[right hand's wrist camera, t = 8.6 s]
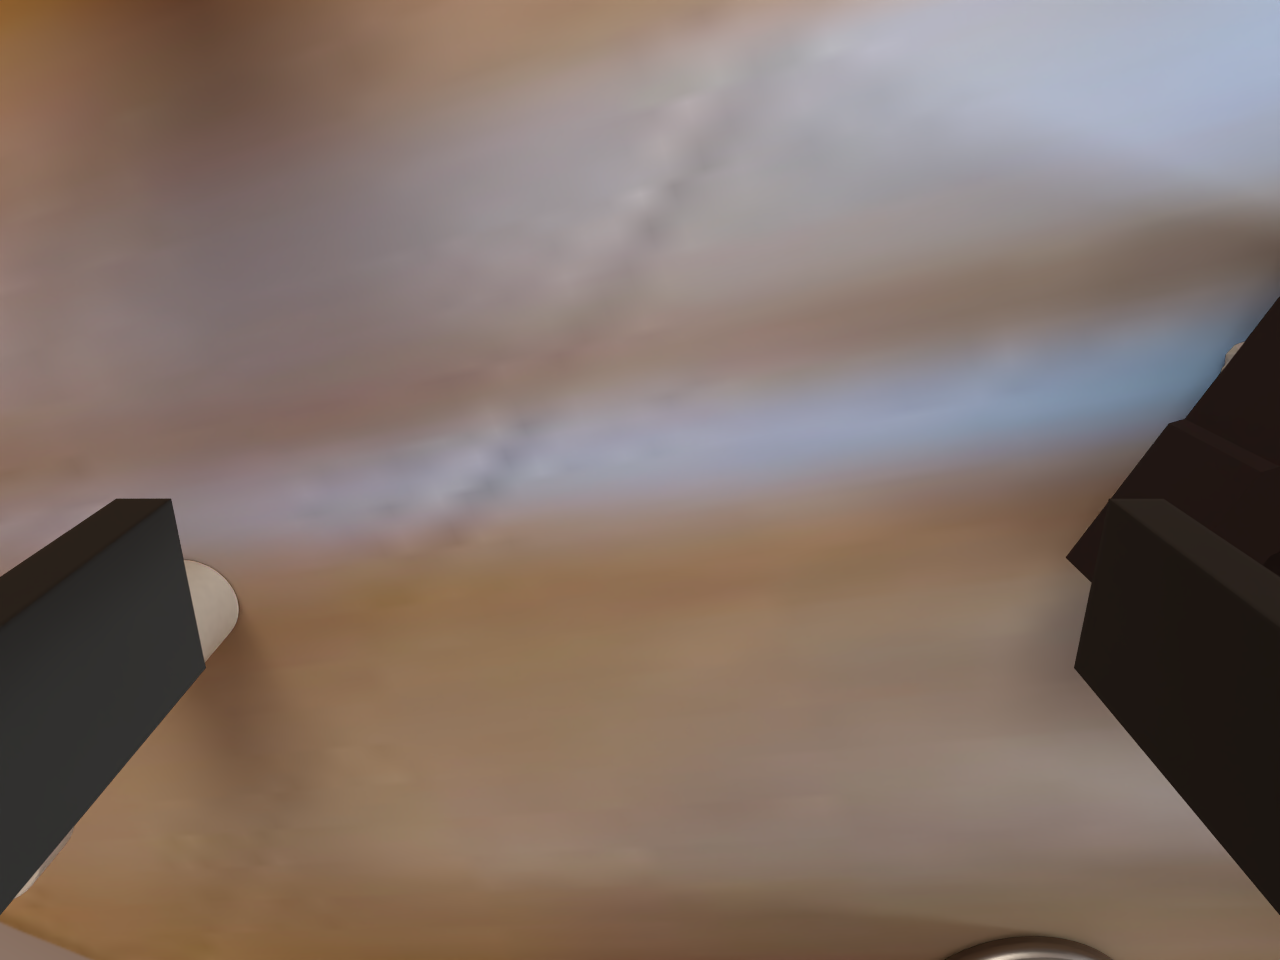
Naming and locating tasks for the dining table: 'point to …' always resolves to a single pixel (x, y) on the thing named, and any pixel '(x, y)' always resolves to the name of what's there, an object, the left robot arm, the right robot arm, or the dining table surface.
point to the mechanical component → (1219, 457)
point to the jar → (211, 605)
